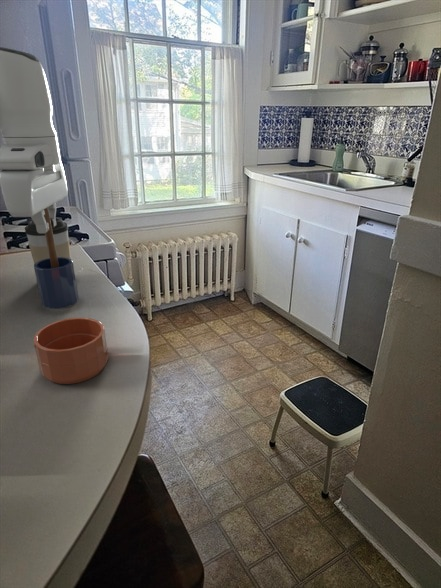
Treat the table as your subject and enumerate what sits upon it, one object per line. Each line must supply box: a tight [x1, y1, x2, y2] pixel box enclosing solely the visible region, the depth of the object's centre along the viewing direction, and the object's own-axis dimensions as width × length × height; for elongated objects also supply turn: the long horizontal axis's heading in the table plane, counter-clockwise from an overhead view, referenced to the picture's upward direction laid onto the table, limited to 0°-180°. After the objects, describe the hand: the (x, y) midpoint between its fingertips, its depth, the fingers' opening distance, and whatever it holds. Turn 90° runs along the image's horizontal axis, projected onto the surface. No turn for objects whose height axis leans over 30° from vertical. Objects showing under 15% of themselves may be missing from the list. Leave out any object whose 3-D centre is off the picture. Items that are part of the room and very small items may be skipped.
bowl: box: [33, 317, 109, 385], centre depth 60 cm, size 10×10×6 cm
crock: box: [33, 257, 79, 310], centre depth 80 cm, size 7×7×9 cm
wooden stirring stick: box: [44, 207, 59, 268], centre depth 78 cm, size 1×3×21 cm, turn 2°
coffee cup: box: [24, 217, 72, 265], centre depth 90 cm, size 9×9×15 cm
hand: (47, 229), depth 76 cm, fingers closed
